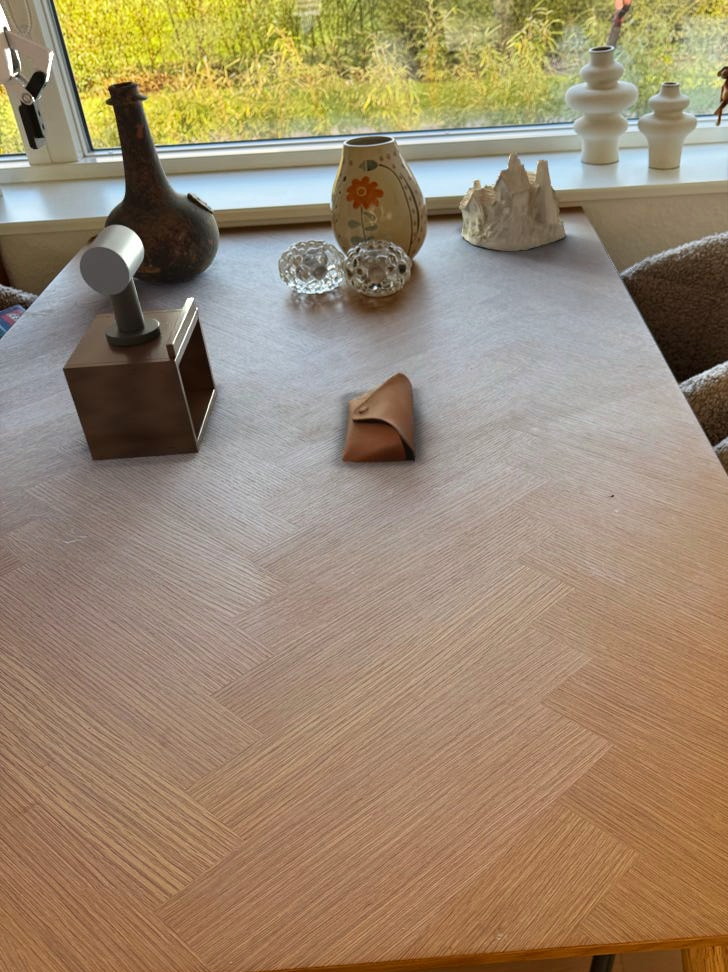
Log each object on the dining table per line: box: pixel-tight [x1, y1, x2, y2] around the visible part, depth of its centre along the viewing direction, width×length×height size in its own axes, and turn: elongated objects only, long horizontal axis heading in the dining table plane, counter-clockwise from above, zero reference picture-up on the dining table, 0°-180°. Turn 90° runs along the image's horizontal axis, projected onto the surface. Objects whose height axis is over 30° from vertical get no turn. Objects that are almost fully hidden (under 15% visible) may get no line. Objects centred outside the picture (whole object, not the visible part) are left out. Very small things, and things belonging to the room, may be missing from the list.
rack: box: [62, 297, 218, 461], centre depth 112 cm, size 12×16×12 cm
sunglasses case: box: [341, 372, 416, 464], centre depth 110 cm, size 18×7×7 cm
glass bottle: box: [103, 81, 220, 285], centre depth 150 cm, size 18×18×28 cm
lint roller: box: [79, 225, 161, 346], centre depth 105 cm, size 6×8×11 cm
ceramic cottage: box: [458, 151, 566, 252], centre depth 163 cm, size 16×16×15 cm
